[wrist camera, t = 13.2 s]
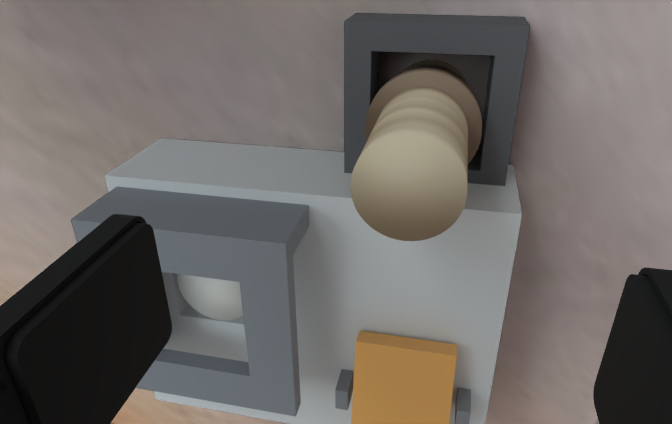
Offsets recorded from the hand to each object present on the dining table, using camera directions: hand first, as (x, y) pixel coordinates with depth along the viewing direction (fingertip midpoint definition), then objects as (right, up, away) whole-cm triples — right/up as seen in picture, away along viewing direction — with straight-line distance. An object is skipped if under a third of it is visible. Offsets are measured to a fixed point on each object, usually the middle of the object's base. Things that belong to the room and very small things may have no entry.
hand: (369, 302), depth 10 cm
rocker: (+2, -7, +14) cm, 16 cm away
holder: (+4, +7, +14) cm, 16 cm away
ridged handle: (+4, +7, +14) cm, 16 cm away
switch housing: (-1, -1, +19) cm, 19 cm away
